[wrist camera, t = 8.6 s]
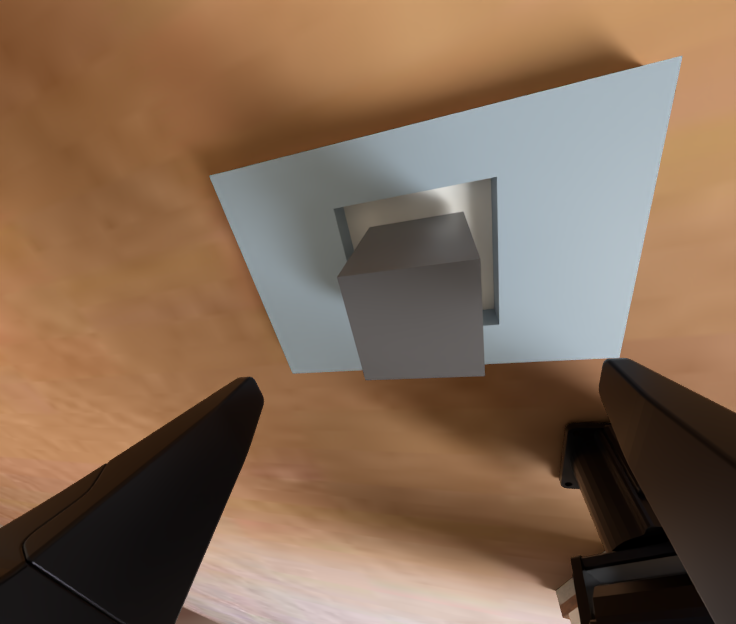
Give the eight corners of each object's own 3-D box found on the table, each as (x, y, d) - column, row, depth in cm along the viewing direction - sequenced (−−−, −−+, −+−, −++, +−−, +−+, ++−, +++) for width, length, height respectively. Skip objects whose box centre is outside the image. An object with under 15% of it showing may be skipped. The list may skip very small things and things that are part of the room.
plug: (467, 290, 17) (484, 376, 11) (387, 298, 18) (365, 380, 12) (462, 207, 15) (480, 258, 9) (372, 222, 16) (337, 277, 10)
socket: (600, 334, 17) (619, 357, 15) (303, 354, 22) (292, 373, 20) (645, 66, 11) (682, 55, 10) (232, 170, 16) (209, 175, 14)
